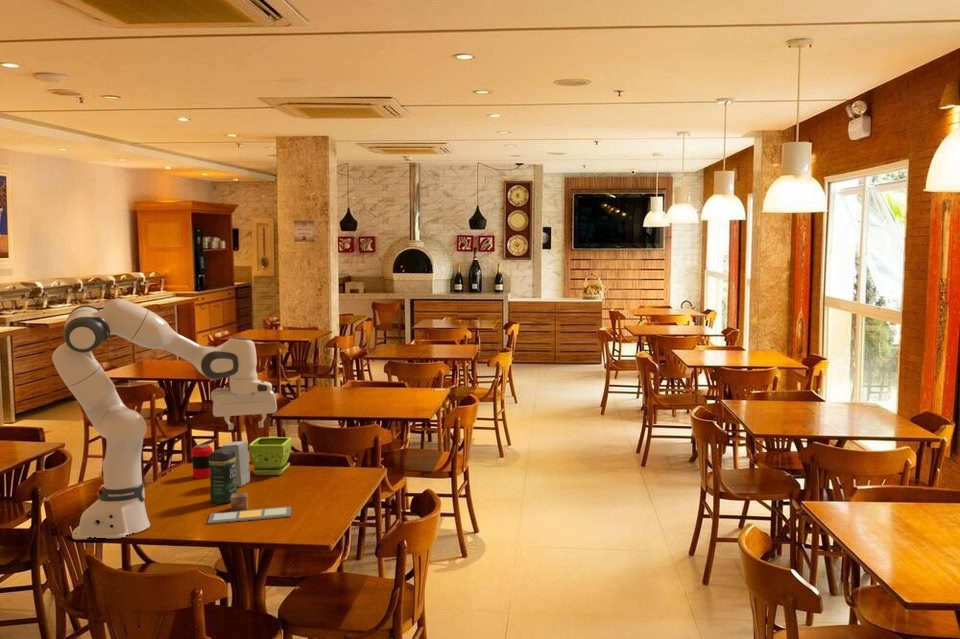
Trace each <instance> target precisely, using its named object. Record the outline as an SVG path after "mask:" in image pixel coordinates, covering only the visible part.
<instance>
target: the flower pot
mask: <svg viewBox="0 0 960 639" xmlns="http://www.w3.org/2000/svg"><path fill="white" fill-rule="evenodd" d="M292 442H293V440H292V437H289V436H285V437H284V436H283V437H282V436H281V437H280V436H270V437H269V436H264V437H263V436H262V437H258V438H256V439H254V440H253V441H252V442H250V444H249V445H248V454H249V456H250V460H251V463H252V465H253V467H254V468H253V469H252V473H253V474H254V475H255V476H281V475H282V474H283V473H284V472H285V471H287V470H288V468H289V467H290V465H291V463H290V462H288V460H289V458H290V454H291V450H292ZM286 469H287V470H286Z"/></svg>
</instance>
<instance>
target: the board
mask: <svg viewBox="0 0 960 639" xmlns="http://www.w3.org/2000/svg"><path fill="white" fill-rule="evenodd" d="M284 517H286V518H292V505H291V506H279V507H268V508H257V509H255V508H254V509H247V510H243V511H221V512H212V513H210V514H209V516H208V520H207V522H206V523H207V525H214V524H213V523H218V524H226V522H230V523H237V522H236V521H241V522H249V521H248V520H252V521H259V520H260V521H261V520H262V519H263V520H271V519H272V518H274V519H285V518H284Z"/></svg>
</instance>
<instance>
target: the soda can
mask: <svg viewBox="0 0 960 639" xmlns="http://www.w3.org/2000/svg"><path fill="white" fill-rule="evenodd" d="M212 452H213V447H211V445H210V444H198V445H195V446H194V447H193V448H192V449H191V457H192V476H193V478H194V479H196V478H198V479H197V480H200V479H199V478H205V479H209V477H210V465H209V454H210V453H212Z"/></svg>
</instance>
